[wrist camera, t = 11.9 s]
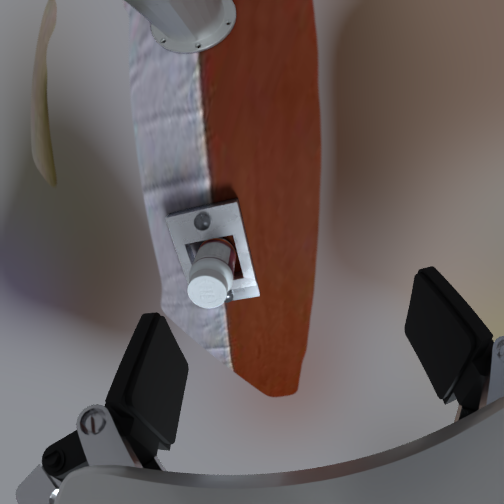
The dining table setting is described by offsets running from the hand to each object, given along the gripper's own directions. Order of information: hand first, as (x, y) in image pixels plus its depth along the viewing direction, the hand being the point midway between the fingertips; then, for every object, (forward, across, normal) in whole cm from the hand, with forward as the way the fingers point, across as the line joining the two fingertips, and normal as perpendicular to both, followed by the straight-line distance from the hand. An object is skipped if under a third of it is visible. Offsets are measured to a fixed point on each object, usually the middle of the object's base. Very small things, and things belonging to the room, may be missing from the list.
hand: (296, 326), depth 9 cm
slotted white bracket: (+32, +10, +12) cm, 36 cm away
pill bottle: (+32, +10, +12) cm, 36 cm away
